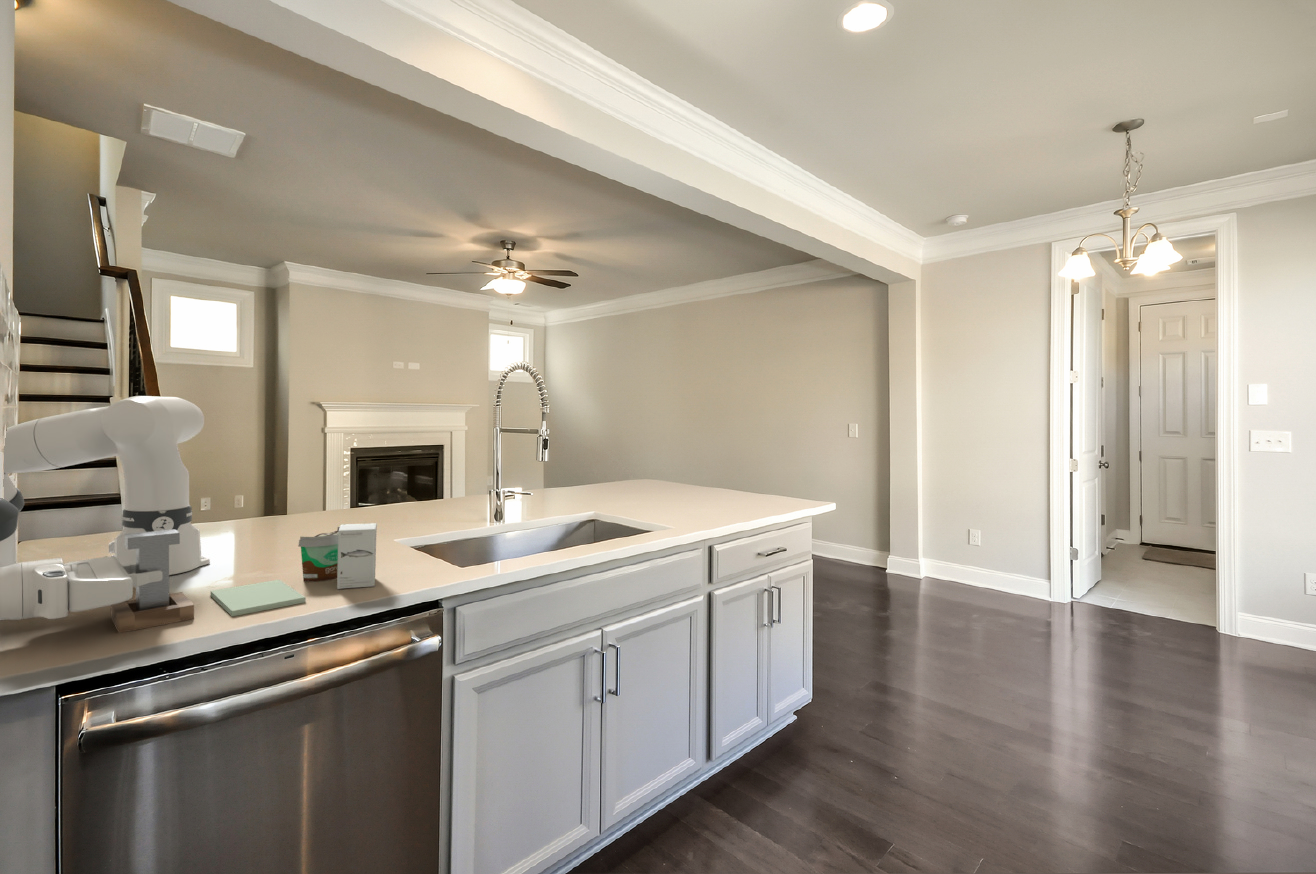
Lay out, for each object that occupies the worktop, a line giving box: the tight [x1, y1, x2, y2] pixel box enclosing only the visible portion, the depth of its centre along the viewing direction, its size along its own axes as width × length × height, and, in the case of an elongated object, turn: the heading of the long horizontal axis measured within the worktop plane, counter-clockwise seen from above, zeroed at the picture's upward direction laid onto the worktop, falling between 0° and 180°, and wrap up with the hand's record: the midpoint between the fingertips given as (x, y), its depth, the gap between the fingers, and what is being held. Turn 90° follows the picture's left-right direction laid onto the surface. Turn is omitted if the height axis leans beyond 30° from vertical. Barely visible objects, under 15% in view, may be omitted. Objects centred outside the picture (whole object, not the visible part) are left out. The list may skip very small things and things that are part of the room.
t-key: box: [124, 529, 180, 612], centre depth 107 cm, size 4×7×15 cm, turn 138°
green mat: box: [210, 579, 307, 617], centre depth 119 cm, size 16×12×1 cm
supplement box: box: [336, 522, 378, 590], centre depth 130 cm, size 7×7×13 cm
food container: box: [297, 526, 340, 583], centre depth 135 cm, size 12×6×10 cm, turn 168°
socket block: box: [110, 591, 195, 634], centre depth 107 cm, size 10×10×2 cm
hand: (158, 571), depth 107 cm, fingers closed on t-key, 4 cm apart
